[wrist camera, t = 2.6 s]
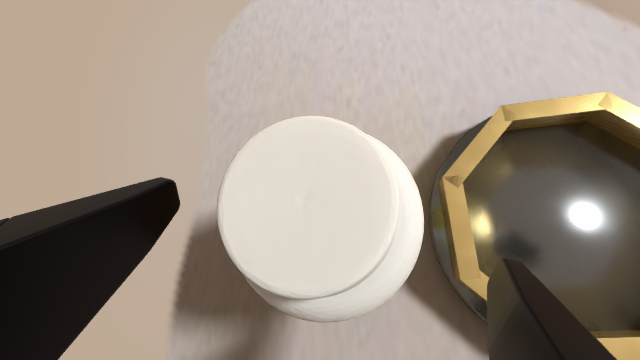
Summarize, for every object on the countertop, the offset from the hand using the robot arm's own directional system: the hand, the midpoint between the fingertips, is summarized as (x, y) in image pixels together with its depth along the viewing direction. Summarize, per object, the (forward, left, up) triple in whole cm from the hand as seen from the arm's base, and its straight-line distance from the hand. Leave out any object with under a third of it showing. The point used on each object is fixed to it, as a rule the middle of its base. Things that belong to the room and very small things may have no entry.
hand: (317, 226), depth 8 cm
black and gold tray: (0, -10, -8) cm, 13 cm away
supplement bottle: (0, 0, -8) cm, 8 cm away
